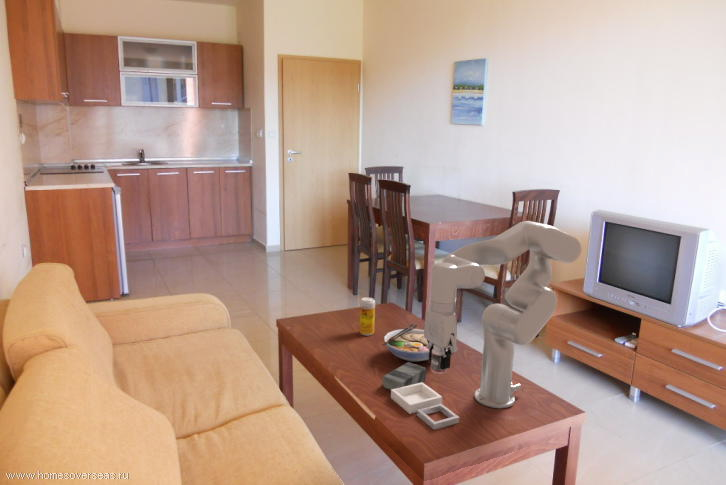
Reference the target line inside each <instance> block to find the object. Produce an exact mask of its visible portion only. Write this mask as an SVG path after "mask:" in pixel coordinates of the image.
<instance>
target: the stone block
mask: <svg viewBox="0 0 726 485" xmlns="http://www.w3.org/2000/svg"><path fill="white" fill-rule="evenodd" d="M426 377H427V368H426V367H424V366H422V365H418V364H417V363H416V364H415V363H413V362H410V361H408V362H406V363H404V364H403V365H400V366H399V367H397V368H395V369H392V370H391V371H390V372H388V373H386V374H384V375H383V376H382V385H383V389H385V390H388V391H390V392H391V390H392V389H396V388H400V387H404V386H408V385H413V384H417V383H421V382H423V383H425V382H426V380H427V378H426Z"/></svg>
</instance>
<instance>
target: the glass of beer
mask: <svg viewBox="0 0 726 485" xmlns="http://www.w3.org/2000/svg"><path fill="white" fill-rule="evenodd" d="M359 304H360V308H359V333H360V334H361V335H362V336H367V337H368V336H372V335H373V334H374V333H375V318H376V313H375V312H376V300H375V298H373V297H369V296H366V297H362V298H361V300H360V303H359Z"/></svg>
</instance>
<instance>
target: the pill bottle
mask: <svg viewBox="0 0 726 485" xmlns="http://www.w3.org/2000/svg"><path fill="white" fill-rule="evenodd" d="M433 348H434V349H432V357H431V362H430V370H431V372H432V373H434V374H440V375H442V374H446V373H447V371H448V368H447V369H443V370H442V369H440V362H441V356H442V348H440V347H438V346H437V345H435V344H434V346H433ZM447 350H448V348H446V351H447Z"/></svg>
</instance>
